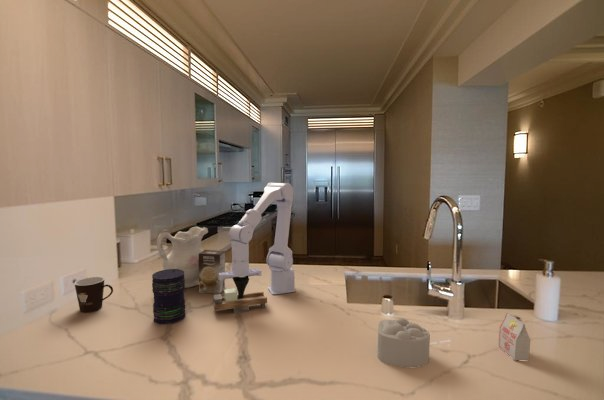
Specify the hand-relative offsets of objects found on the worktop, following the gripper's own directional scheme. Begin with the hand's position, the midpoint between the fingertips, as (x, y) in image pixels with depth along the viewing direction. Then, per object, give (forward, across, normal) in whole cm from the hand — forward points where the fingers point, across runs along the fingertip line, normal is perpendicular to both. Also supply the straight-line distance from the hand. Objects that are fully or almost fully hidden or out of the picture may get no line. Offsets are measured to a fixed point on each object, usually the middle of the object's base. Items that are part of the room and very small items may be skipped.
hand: (240, 297), depth 110 cm
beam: (+4, 0, 0) cm, 4 cm away
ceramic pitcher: (+4, -18, +32) cm, 37 cm away
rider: (+1, -3, 0) cm, 4 cm away
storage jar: (+4, -23, +1) cm, 24 cm away
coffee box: (+4, -8, +21) cm, 23 cm away
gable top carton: (+4, +65, -52) cm, 83 cm away
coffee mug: (+4, -48, +16) cm, 51 cm away
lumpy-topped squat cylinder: (+4, +36, -43) cm, 56 cm away
